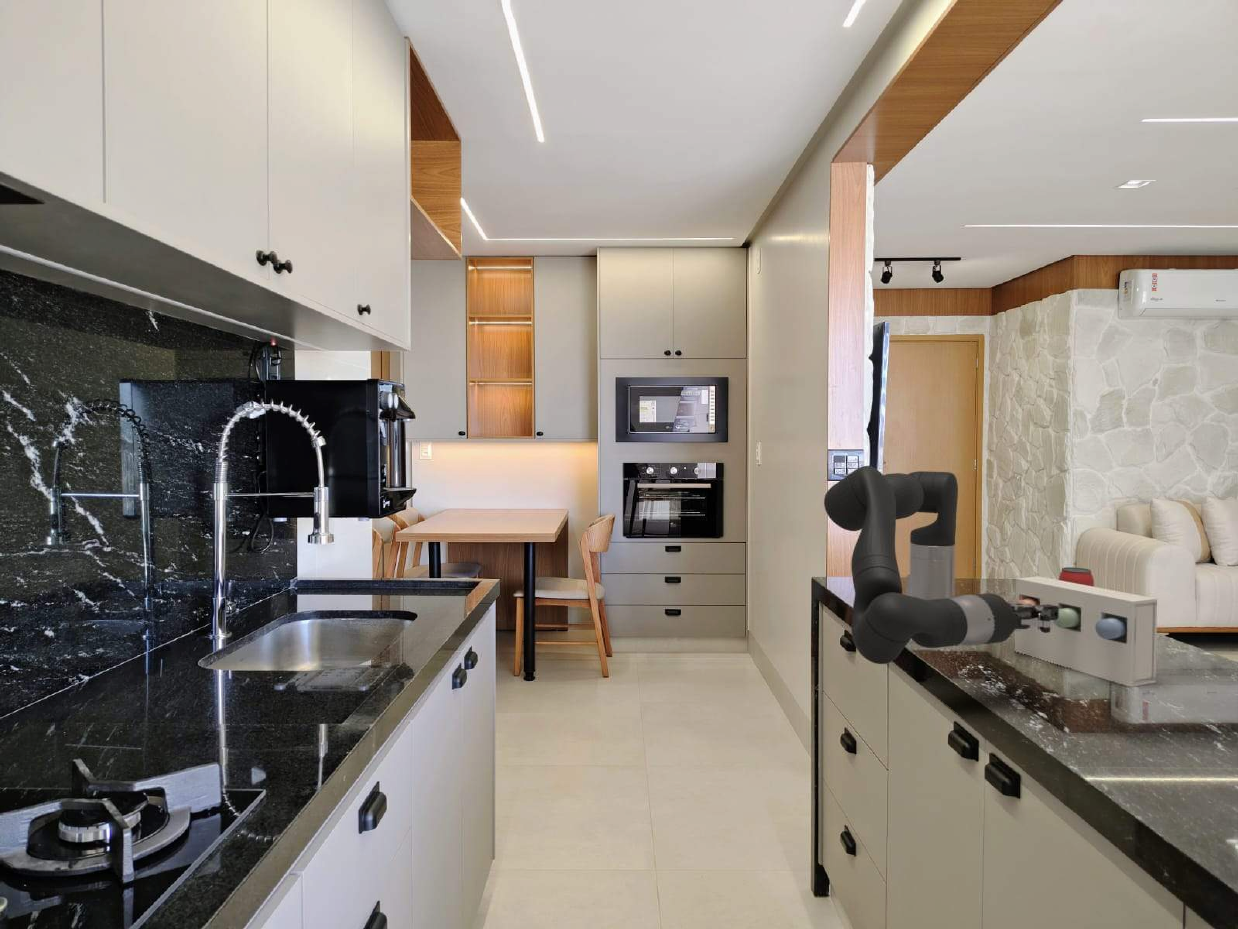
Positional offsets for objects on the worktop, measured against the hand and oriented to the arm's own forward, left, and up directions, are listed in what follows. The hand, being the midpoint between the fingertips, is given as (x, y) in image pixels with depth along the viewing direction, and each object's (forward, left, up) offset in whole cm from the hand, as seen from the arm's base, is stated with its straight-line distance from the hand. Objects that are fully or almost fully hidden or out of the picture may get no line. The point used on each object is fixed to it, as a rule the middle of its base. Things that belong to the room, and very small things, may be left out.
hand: (1054, 611), depth 120 cm
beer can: (-29, +44, -13) cm, 54 cm away
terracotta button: (-15, +13, -5) cm, 21 cm away
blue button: (+1, +13, -5) cm, 14 cm away
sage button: (-7, +13, -5) cm, 16 cm away
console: (-7, +16, -13) cm, 22 cm away
